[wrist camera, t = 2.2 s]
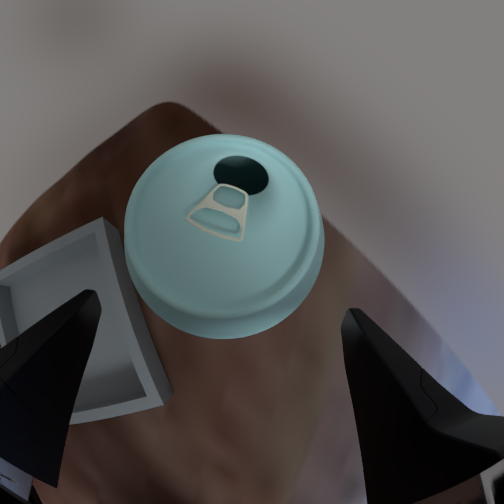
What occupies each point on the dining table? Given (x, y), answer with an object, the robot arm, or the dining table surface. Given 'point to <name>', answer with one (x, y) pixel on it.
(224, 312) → the can
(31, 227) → the dining table surface
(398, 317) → the dining table surface
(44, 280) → the bin
